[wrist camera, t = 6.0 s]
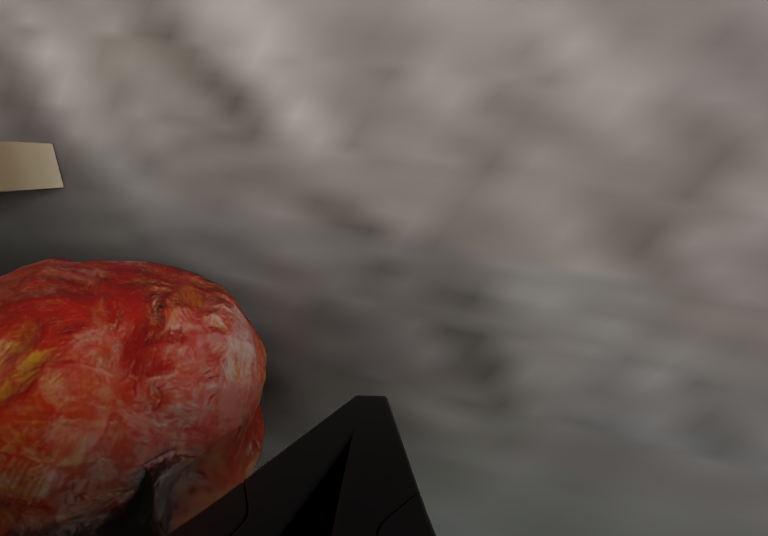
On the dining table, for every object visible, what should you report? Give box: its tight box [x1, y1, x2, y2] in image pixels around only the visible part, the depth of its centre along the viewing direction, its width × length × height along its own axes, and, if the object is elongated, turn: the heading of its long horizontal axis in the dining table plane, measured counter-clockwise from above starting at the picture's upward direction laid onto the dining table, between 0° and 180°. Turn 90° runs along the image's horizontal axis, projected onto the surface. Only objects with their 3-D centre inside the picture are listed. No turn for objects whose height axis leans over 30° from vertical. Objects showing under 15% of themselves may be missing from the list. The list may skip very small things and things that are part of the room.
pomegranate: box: [0, 258, 266, 536], centre depth 9 cm, size 7×7×10 cm
